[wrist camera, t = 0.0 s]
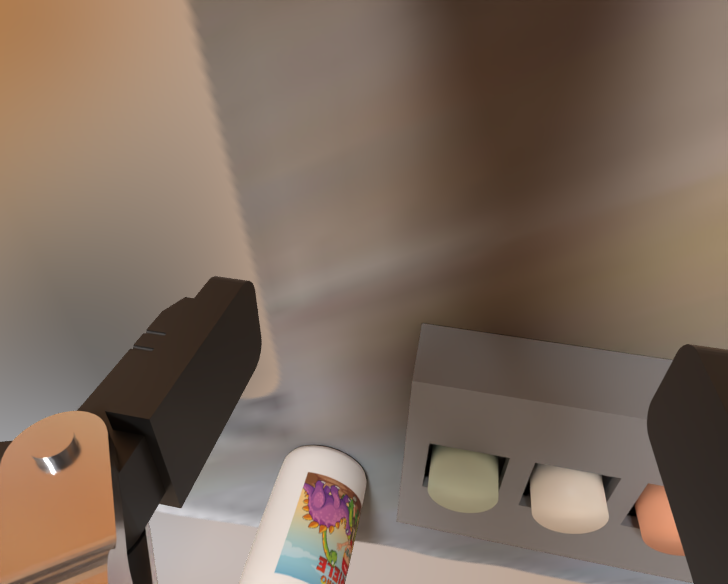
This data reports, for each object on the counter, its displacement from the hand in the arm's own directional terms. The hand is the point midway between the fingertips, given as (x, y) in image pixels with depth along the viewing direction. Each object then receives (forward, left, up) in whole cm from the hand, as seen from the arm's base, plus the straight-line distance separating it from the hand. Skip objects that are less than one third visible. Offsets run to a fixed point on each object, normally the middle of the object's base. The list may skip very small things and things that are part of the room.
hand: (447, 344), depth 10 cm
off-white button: (+23, +9, -15) cm, 29 cm away
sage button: (+23, +3, -15) cm, 27 cm away
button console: (+23, +9, -17) cm, 30 cm away
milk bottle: (+34, -8, -17) cm, 39 cm away
